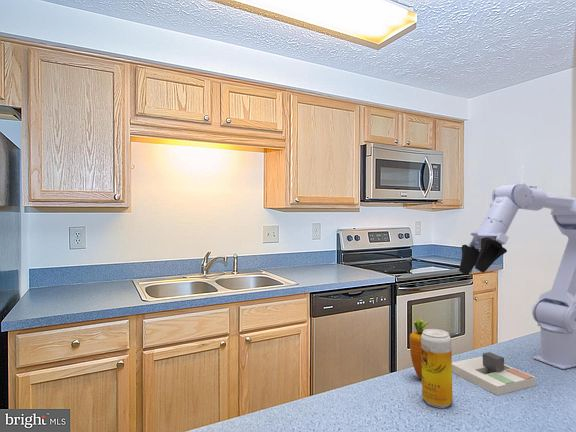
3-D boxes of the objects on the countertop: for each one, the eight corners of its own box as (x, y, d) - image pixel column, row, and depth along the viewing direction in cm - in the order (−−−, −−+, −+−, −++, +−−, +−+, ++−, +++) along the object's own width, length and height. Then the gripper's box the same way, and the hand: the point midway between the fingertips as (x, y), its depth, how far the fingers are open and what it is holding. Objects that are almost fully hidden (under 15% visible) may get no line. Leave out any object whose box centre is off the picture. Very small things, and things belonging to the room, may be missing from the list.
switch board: (484, 363, 98) (484, 354, 98) (535, 385, 85) (535, 376, 85) (449, 370, 94) (449, 362, 94) (497, 395, 81) (497, 385, 81)
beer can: (416, 398, 81) (414, 330, 81) (438, 392, 83) (436, 326, 83) (436, 411, 75) (434, 339, 75) (459, 405, 77) (457, 334, 77)
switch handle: (490, 371, 92) (489, 352, 92) (504, 377, 89) (503, 357, 89) (482, 372, 92) (482, 353, 92) (497, 379, 88) (496, 359, 88)
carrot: (412, 373, 93) (411, 314, 93) (433, 377, 91) (431, 317, 91) (408, 381, 89) (406, 319, 89) (429, 385, 87) (428, 322, 86)
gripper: (466, 222, 98) (443, 265, 95) (497, 209, 84) (471, 258, 81) (489, 237, 97) (467, 280, 94) (525, 226, 83) (499, 276, 80)
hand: (470, 271), depth 88 cm, fingers open, 7 cm apart
